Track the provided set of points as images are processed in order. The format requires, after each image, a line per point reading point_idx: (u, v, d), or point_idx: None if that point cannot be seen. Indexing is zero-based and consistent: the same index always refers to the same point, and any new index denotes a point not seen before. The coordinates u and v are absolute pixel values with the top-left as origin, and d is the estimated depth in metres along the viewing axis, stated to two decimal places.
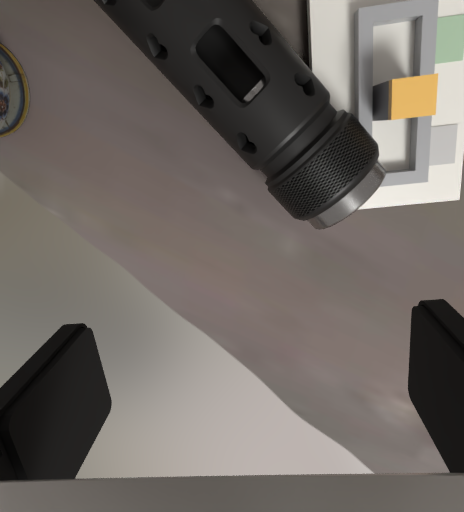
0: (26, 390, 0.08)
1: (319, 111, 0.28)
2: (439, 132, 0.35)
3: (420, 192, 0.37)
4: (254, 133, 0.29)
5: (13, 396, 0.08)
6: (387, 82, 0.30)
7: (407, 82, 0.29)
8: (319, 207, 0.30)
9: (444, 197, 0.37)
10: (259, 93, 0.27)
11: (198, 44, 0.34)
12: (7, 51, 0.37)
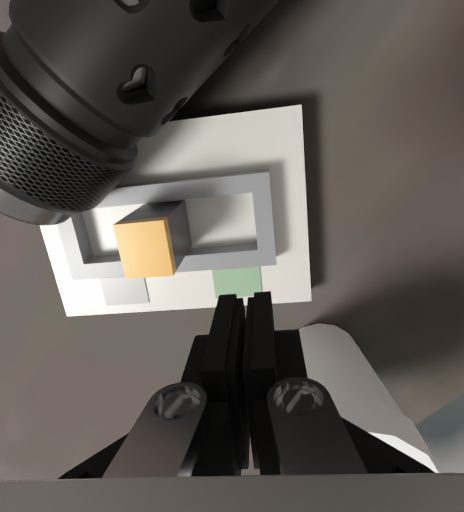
0: (230, 346, 0.09)
1: (98, 113, 0.18)
2: (138, 285, 0.29)
3: (67, 273, 0.29)
4: None
5: (226, 350, 0.08)
6: (166, 215, 0.22)
7: (160, 240, 0.21)
8: None
9: (66, 300, 0.30)
10: None
11: None
12: None
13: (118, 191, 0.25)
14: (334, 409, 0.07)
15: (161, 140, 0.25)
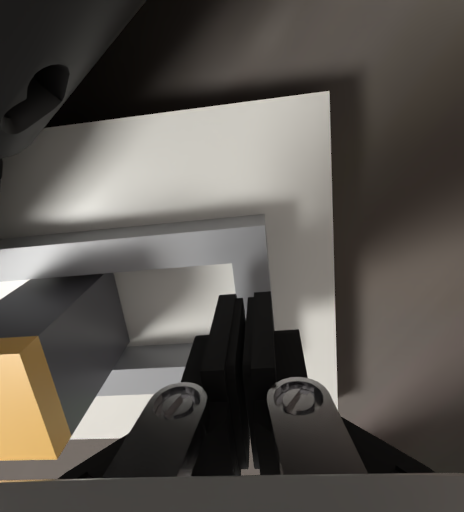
0: (231, 346, 0.09)
1: None
2: None
3: None
4: None
5: (226, 350, 0.08)
6: (42, 328, 0.10)
7: (19, 392, 0.09)
8: None
9: None
10: None
11: None
12: None
13: None
14: (334, 409, 0.07)
15: (61, 160, 0.13)
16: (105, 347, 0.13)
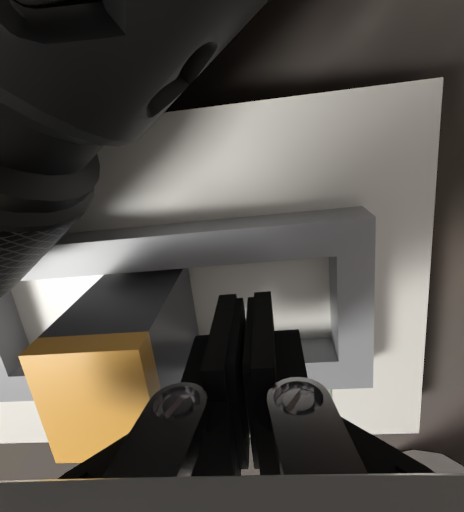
0: (231, 346, 0.09)
1: None
2: None
3: None
4: None
5: (226, 350, 0.08)
6: (148, 324, 0.10)
7: (133, 391, 0.09)
8: None
9: None
10: None
11: None
12: None
13: (66, 250, 0.12)
14: (334, 409, 0.07)
15: (152, 149, 0.13)
16: (186, 344, 0.13)
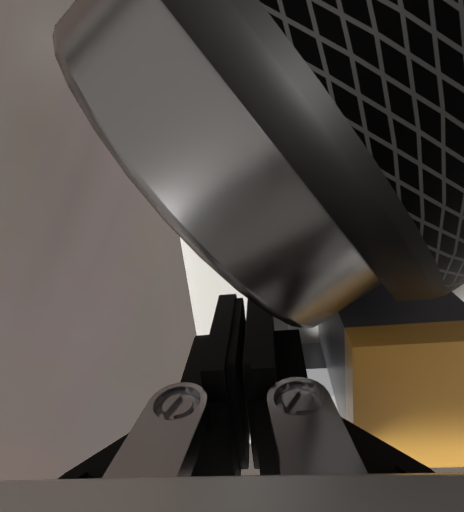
0: (231, 346, 0.09)
1: None
2: None
3: None
4: None
5: (226, 350, 0.08)
6: None
7: None
8: None
9: None
10: None
11: None
12: None
13: None
14: (334, 409, 0.07)
15: None
16: None
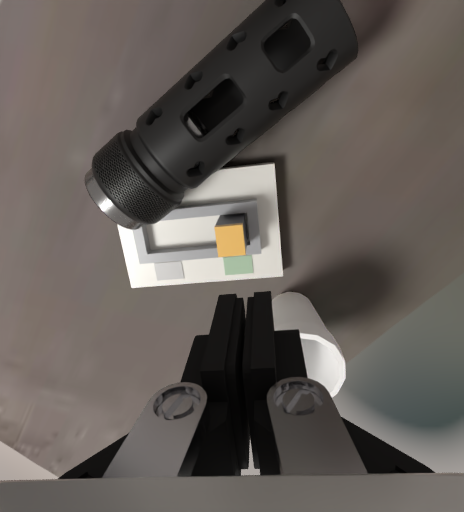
0: (231, 346, 0.09)
1: (175, 179, 0.36)
2: (178, 267, 0.47)
3: (133, 260, 0.47)
4: (159, 124, 0.34)
5: (226, 350, 0.08)
6: (241, 222, 0.40)
7: (240, 235, 0.39)
8: (98, 176, 0.36)
9: (132, 277, 0.48)
10: (188, 131, 0.33)
11: None
12: None
13: None
14: (334, 409, 0.07)
15: None
16: (246, 236, 0.43)
